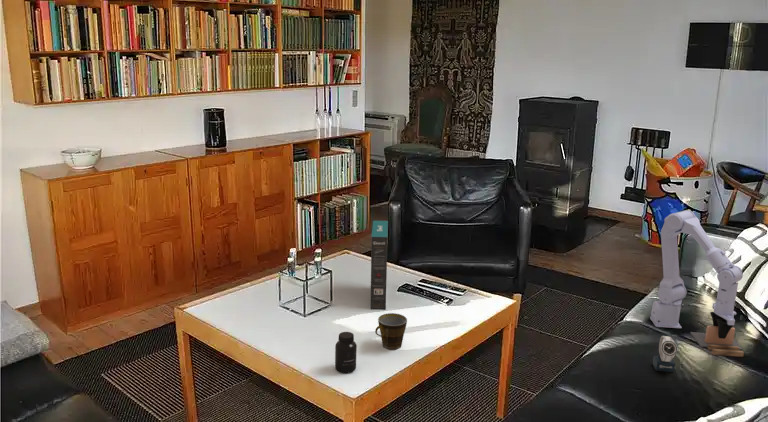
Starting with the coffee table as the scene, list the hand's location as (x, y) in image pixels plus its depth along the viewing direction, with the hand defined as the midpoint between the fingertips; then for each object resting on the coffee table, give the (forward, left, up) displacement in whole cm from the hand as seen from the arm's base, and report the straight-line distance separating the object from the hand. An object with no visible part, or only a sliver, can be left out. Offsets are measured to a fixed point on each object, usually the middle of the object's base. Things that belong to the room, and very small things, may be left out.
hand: (719, 335), depth 224 cm
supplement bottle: (-128, -39, -4) cm, 134 cm away
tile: (0, 0, -3) cm, 3 cm away
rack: (0, -7, -3) cm, 7 cm away
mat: (0, +2, -3) cm, 4 cm away
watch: (-25, -22, -4) cm, 33 cm away
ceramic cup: (-116, -22, -4) cm, 118 cm away
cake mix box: (-125, +19, -4) cm, 127 cm away
